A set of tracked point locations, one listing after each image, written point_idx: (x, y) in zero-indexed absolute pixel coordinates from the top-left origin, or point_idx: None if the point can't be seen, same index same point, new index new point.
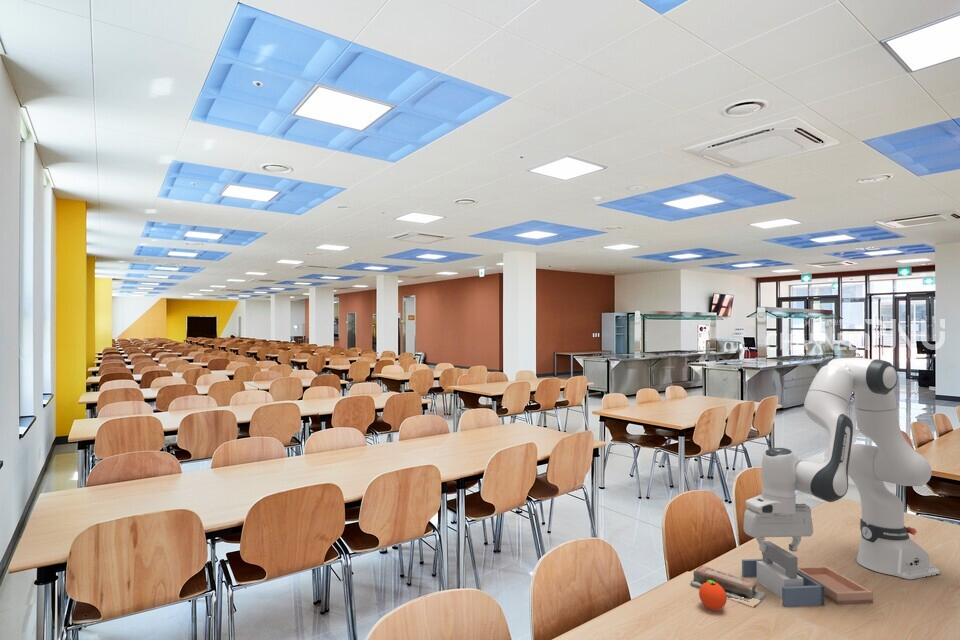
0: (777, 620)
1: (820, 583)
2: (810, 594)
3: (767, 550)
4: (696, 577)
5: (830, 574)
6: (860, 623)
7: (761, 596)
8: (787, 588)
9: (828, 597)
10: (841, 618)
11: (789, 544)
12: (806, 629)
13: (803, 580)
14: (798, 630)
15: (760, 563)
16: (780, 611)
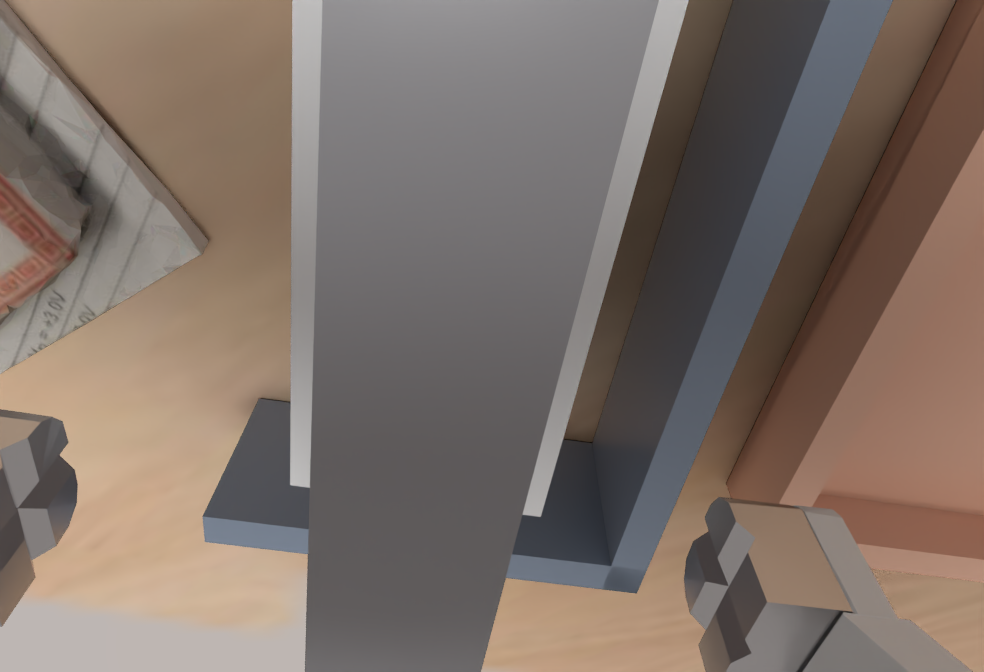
0: (79, 523)
1: (835, 399)
2: None
3: (45, 542)
4: None
5: None
6: (608, 638)
7: (116, 300)
8: (238, 545)
9: (764, 419)
10: (550, 589)
11: (750, 613)
12: (210, 613)
13: (661, 378)
14: (151, 610)
15: (302, 10)
16: (179, 455)
